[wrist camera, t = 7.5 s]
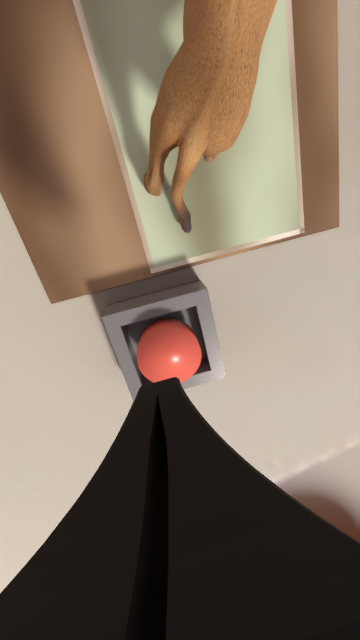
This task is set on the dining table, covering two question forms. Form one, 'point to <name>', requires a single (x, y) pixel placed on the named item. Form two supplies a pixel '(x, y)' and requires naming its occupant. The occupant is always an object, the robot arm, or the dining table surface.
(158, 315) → the button housing
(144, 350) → the button
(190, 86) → the lion figurine
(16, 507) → the dining table surface
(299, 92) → the picture sheet
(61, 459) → the dining table surface
